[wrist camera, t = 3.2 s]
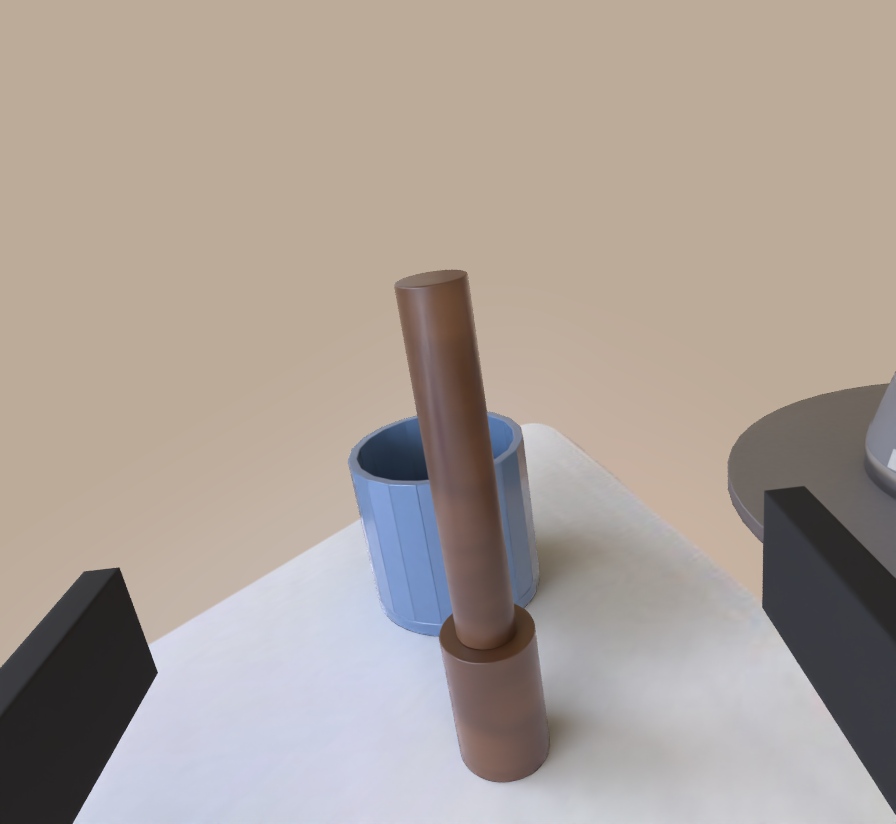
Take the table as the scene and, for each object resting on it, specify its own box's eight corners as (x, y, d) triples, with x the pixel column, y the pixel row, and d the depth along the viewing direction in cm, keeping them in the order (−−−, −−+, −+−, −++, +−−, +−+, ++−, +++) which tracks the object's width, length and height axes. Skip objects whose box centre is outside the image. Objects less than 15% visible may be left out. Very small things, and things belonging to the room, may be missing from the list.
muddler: (544, 705, 32) (487, 259, 24) (555, 777, 28) (491, 280, 21) (460, 714, 32) (379, 275, 25) (460, 787, 28) (365, 299, 21)
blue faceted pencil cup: (531, 531, 45) (515, 400, 42) (548, 625, 37) (529, 470, 33) (387, 548, 46) (361, 421, 43) (370, 645, 37) (335, 495, 34)
